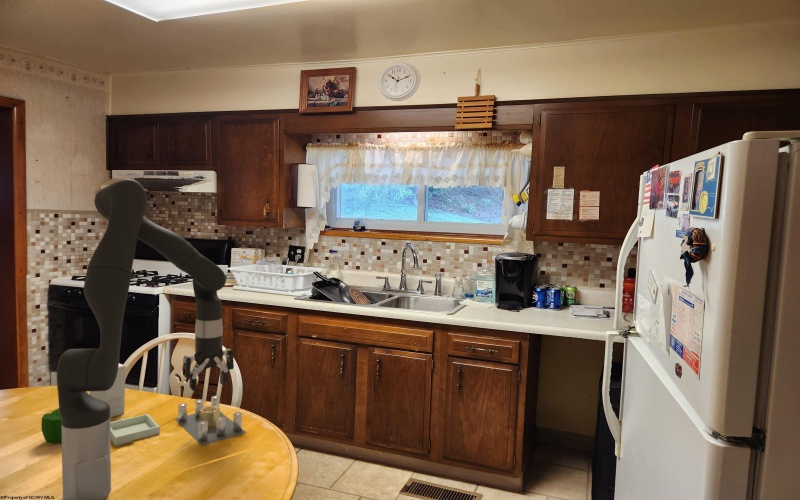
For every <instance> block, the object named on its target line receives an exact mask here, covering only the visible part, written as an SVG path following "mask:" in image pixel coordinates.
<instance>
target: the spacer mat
mask: <svg viewBox="0 0 800 500" xmlns="http://www.w3.org/2000/svg"><path fill="white" fill-rule="evenodd" d="M220 416H223V417H225V436H223V437H217V436H216V428H214V429H208V440H207V441H205V442H199V441H198V440H199V418H195V413H193V414H187V421H186V422H178V417H176V418H174V420H175V421H176V423H178V425H180V426H181V427H182V428H183V429H184V430H185V431H186V432H187V433H188V434H189V435H190V436H191V437H192V438H193V439H194V440H195V441H196V442H198V444H199V445H200V446H201V447H203V446H206V445H209V444H213V443H217V442H220V441H223V440H226V439H230V438H233V437H238V436H241V435H244V434H247V431H246V430H244V429H243V428H242V431H240V432H234V431H233V420H232V419H231V418H229V417H228V416H226V415H225V414H224V413H223V412H221V411H220Z"/></svg>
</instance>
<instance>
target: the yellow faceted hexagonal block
mask: <svg viewBox="0 0 800 500" xmlns="http://www.w3.org/2000/svg"><path fill="white" fill-rule="evenodd" d="M220 412H221V408H220V407H219V408H218V407H217V406H211V405H205V406H204V407H203V408H201V409H200V410H199V422H201V421H207V422H208V429H214V428H216V418H217V417H220Z"/></svg>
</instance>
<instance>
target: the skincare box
mask: <svg viewBox="0 0 800 500" xmlns="http://www.w3.org/2000/svg"><path fill="white" fill-rule="evenodd" d="M125 394H126V365H125V364H122V363H119V366H118V372H117V377H116V380H115V382H114V384H113V386H112V387H111V388H110V389H109V390H106V391H89V395H91V396H92V397H94V398H97V399H100V400H103V401H105V402H107V403H108V404H109V406H110V419H112V418H115V417H118V416H121V415H123V414H124V413H125V403H126V402H125V399H126V398H125V397H126V395H125Z"/></svg>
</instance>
